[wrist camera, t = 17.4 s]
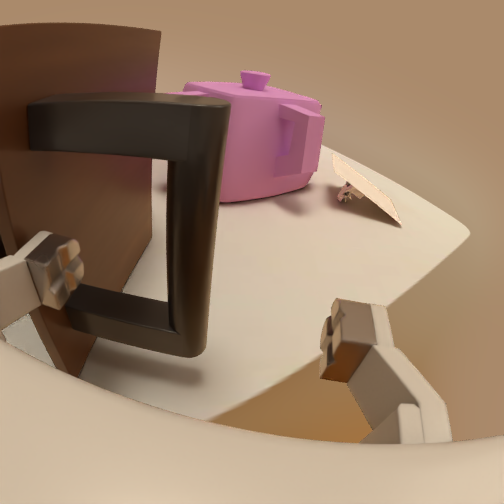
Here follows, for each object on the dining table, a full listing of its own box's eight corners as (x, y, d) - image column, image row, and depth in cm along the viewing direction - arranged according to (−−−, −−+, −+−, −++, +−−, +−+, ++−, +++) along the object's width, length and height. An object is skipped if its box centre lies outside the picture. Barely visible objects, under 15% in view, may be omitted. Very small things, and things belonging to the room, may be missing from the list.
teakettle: (144, 193, 30) (149, 67, 23) (190, 145, 44) (199, 62, 36) (317, 223, 30) (351, 96, 23) (307, 165, 44) (326, 82, 36)
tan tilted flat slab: (334, 171, 31) (316, 193, 33) (402, 225, 33) (383, 244, 34) (331, 152, 37) (316, 171, 38) (390, 199, 38) (375, 216, 40)
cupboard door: (231, 250, 24) (264, 38, 15) (196, 417, 13) (234, -8, 4) (143, 235, 24) (150, 31, 15) (62, 379, 13) (-22, 32, 4)
